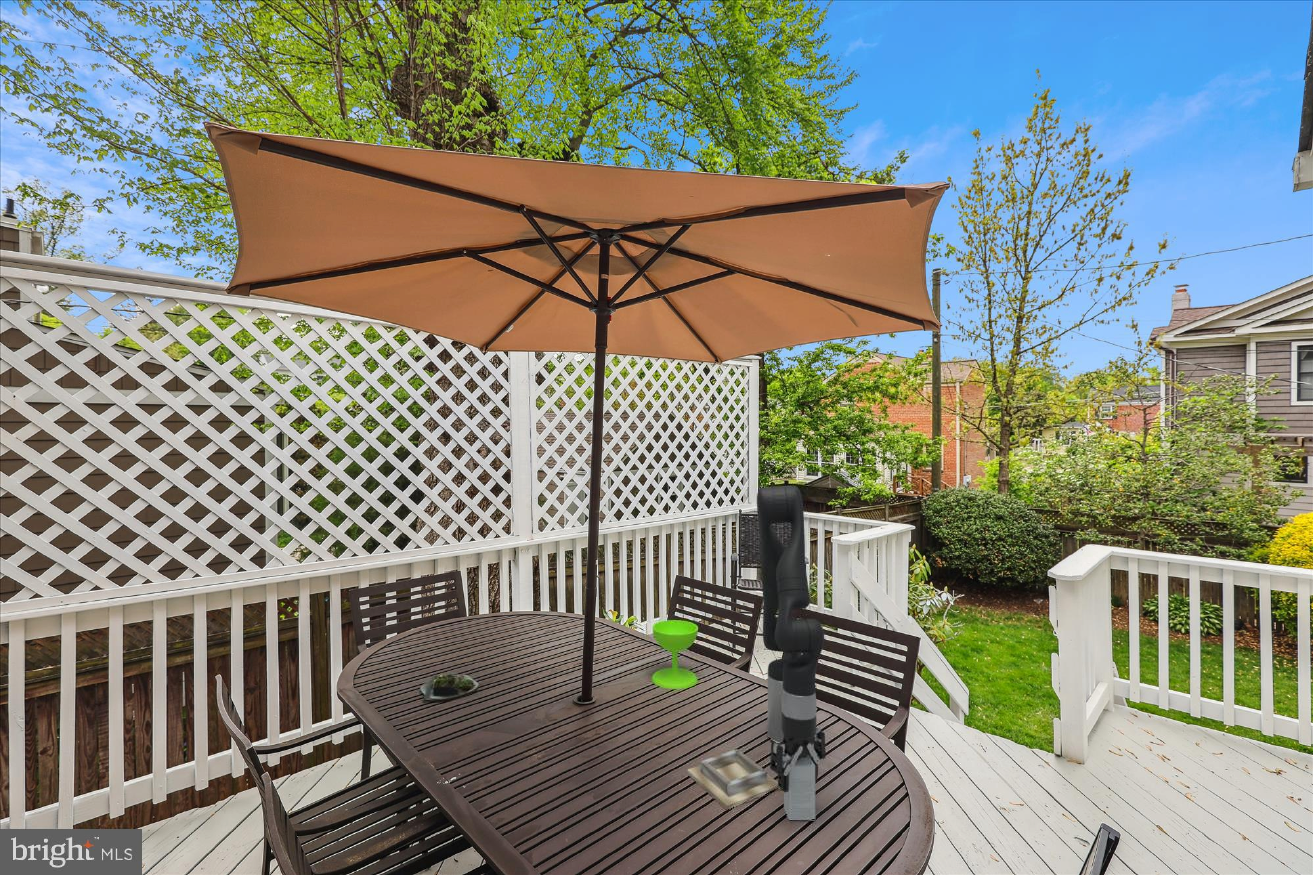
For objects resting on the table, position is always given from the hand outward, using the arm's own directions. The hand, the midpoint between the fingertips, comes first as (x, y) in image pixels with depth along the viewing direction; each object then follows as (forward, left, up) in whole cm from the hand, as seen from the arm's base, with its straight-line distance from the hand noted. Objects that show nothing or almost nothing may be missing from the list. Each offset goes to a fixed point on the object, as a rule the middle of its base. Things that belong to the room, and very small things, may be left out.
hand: (798, 784), depth 123 cm
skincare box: (0, 0, -7) cm, 7 cm away
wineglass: (-14, -74, -7) cm, 76 cm away
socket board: (+5, -17, -7) cm, 19 cm away
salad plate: (+56, -102, -7) cm, 116 cm away
